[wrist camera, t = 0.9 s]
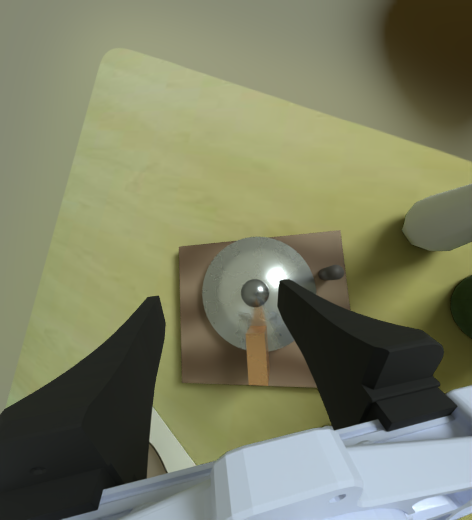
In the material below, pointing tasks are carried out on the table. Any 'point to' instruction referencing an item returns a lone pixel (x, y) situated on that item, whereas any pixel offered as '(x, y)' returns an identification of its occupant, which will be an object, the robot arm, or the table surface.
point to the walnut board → (235, 359)
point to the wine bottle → (463, 306)
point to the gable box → (165, 450)
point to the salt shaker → (441, 220)
